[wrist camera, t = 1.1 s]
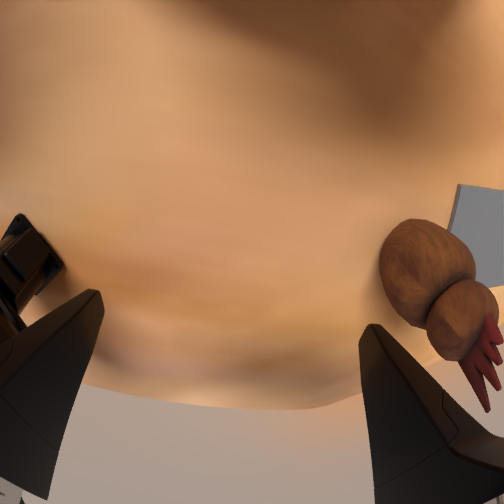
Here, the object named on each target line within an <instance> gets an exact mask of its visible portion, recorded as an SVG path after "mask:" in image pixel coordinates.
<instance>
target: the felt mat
mask: <svg viewBox="0 0 504 504" xmlns="http://www.w3.org/2000/svg"><path fill="white" fill-rule="evenodd" d="M448 231H449V232H451V233H452V234H454V235H455V236H456V237H458V238H459V239H460V240H461V241H462V242H463V243H465V244H466V245H467V247H468V248H469V250H470V252H471V253H472V255H473V258H474V261H475V263H476V279H475V281H478V282H480V283H482V284H484V285H485V286H486V287H493V286H499V285H504V191H502V190H496V189H490V188H483V187H477V186H470V185H462V184H458V188H457V193H456V197H455V202H454V206H453V210H452V215H451V219H450V222H449V226H448Z"/></svg>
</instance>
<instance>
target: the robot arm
mask: <svg viewBox="0 0 504 504" xmlns="http://www.w3.org/2000/svg"><path fill="white" fill-rule="evenodd" d="M57 264H58V265H59V266H58V265H57ZM62 268H63V263H62V261H61V260H60V259H59V258H58V257H57V256H56V254H55V253H54V252H53V251H52V250H51V249H50V248H49V246H48V245H47V244H46V243H45V242H44V241H43V239H42V238H41V237H40V236H39V235H38V233H37V232H36V231H35V230H34V228H33V227H32V226H31V225H30V223H29V222H28V221H27V220H26V218H25V217H24V216H23V215H22V214H21V213H19V214H17V215H16V216H15V218H14V219H13V221H12V222H11V224H10V226H9V227H8V229H7V231H6V232H5V234H4V236H3V237H2V239H1V241H0V504H25V503H24V501H23V499H22V497H21V495H22V492H23V490H26V491H28V492H30V493H32V494H34V495H36V496H38V497H40V498H42V499H45V500H47V499H48V496H49V490H50V486H51V482H52V477H53V473H54V469H55V465H56V461H57V457H58V453H59V452H58V451H59V449H60V446H61V442H62V439H63V435H64V432H65V429H66V426H67V422H68V419H69V416H70V413H71V410H72V407H73V404H74V401H75V398H76V395H77V393H78V390H79V387H80V384H81V382H82V379H83V376H84V374H85V371H86V368H87V366H88V363H89V361H90V358H91V356H92V353H93V350H94V347H95V343H96V340H97V336H98V333H99V330H100V326H101V323H102V320H103V317H104V311H105V310H104V305H103V301H102V297H101V293H100V291H98V290H95V289H87V290H85V291H84V292H82V293H80V294H79V295H77V296H75V297H74V298H72V299H71V300H69V301H67V302H66V303H64V304H63V305H61V306H59V307H58V308H56V309H55V310H53V311H52V312H50V313H48V314H47V315H45V316H44V317H42V318H41V319H39V320H38V321H36V322H35V323H33V324H32V325H30V326H29V327H27V326H26V324H25V323H24V322H23V320H22V319H21V317H20V316H19V315H20V314H21V313H22V311H23V310H24V308H25V307H26V305H27V304H28V303H29V301H30V300H31V299H32V297H33V296H34V295H38V293H39V292H40V291H41V290H42V289H43V288H44V287H45V286H46V285H47V284H48V283H49V282H50V281H51V280H52V279H53V278H54V277H55V276H56V275H57V274H58V273H59V272H60V271H61V269H62ZM359 359H360V374H361V386H362V393H363V398H364V405H365V411H366V419H367V426H368V433H369V442H370V449H371V459H372V469H373V481H374V495H375V504H504V438H502V437H498V436H495V435H493V434H491V433H490V432H488V431H487V430H486V429H485V428H484V427H483V426H482V425H481V424H479V423H478V422H477V421H476V420H475V419H474V418H473V417H472V416H471V415H470V414H468V413H467V412H466V411H465V410H464V409H463V408H462V407H461V406H460V405H459V404H458V403H457V402H456V401H455V400H454V399H453V398H452V397H451V396H450V395H449V394H448V393H447V392H446V391H445V390H444V389H443V388H442V387H441V386H440V385H439V384H438V383H437V381H436V380H435V379H434V378H433V377H432V376H431V375H430V374H429V373H428V372H427V371H426V370H425V369H424V368H423V367H422V366H421V365H420V364H419V363H418V362H417V361H416V360H415V359H414V358H413V357H412V356H411V355H410V354H409V353H408V352H407V351H406V350H405V349H404V348H403V347H402V346H401V345H400V344H399V343H398V342H397V341H396V340H395V339H394V338H393V337H392V336H391V335H390V334H389V333H388V332H387V331H386V330H385V329H384V328H383V327H382V326H381V325H380V324H368V325H367V327H366V329H365V330H364V332H363V334H362V336H361V338H360V340H359Z"/></svg>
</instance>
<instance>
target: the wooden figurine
mask: <svg viewBox="0 0 504 504" xmlns="http://www.w3.org/2000/svg"><path fill="white" fill-rule="evenodd" d="M380 274H381V278H382V282H383V286H384V289H385V293H386V295H387V297H388V299H389V301H390V303H391V305H392V306H393V307H394V309H395V310H396V312H397V313H398V314H399V315H400V316H401V317H403V318H404V319H405V320H406V321H407V322H408V323H409V324H410V325H411V326H415V327H418V328H422V329H425V330H427V336H428V339H429V341H430V343H431V345H432V346H433V347H434V349H435V350H436V352H437V353H438V354H439V355H440V356H441V357H442V358H444V359H445V360H448V361H458V363H459V365H460V367H461V368H462V370H463V372H464V374H465V376H466V377H467V379H468V381H469V382H470V384H471V386H472V388H473V390H474V392H475V393H476V395H477V397H478V399H479V401H480V402H481V404H482V406H483V408H484V410H485V412H486V413H488V412H489V411H490V410H491V408H490V403H489V399H488V394H487V390H486V386H485V382H484V378H483V375H484V376H485V377H486V379H487V380H488V381H489V382H490V383H491V385H492V386H493V387H494V388H495V389H496V391H499V390H501V388H502V387H501V384H500V381H499V379H498V376H497V373H496V371H495V368H494V366H493V363H492V361H493V362H494V363H495V364H496V365H497V366H498V365H500V364H502V363H503V360H502V358H501V356H500V353H499V351H498V349H497V347H496V345H500V344H503V342H504V340H503V337H502V335H501V332H500V330H499V328H498V326H497V325H498V319H499V308H498V304H497V301H496V299H495V296H494V295H493V294H492V292H491V291H490V290H489V289H488V288H487V287H486V286H485V285H484V284H482V283H480V282H478V281H475V279H476V263H475V261H474V258H473V255H472V253H471V252H470V250H469V248H468V247H467V245H466V244H465V243H463V242H462V241H461V240H460V239H459V238H458V237H456V236H455V235H454V234H452V233H451V232H449V231H448V230H446V229H444V228H442V227H441V226H439V225H437V224H435V223H433V222H430V221H427V220H421V219H408V220H406V221H404V222H401V223H400V224H399V225H398V226H397V227H396V228H395V229H394V230H393V231H392V232H391V233H390V235H389V236H388V237H387V239H386V241H385V243H384V245H383V248H382V251H381V256H380ZM491 360H492V361H491Z"/></svg>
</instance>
